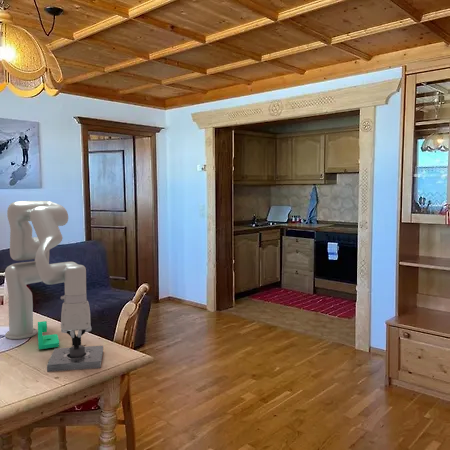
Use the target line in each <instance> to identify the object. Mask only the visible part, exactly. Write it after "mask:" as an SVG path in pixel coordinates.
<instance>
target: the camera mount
mask: <svg viewBox="0 0 450 450" xmlns="http://www.w3.org/2000/svg"><path fill="white" fill-rule="evenodd" d="M47 332H48V323H47V320H46V321H45V320H43V321H37V341H38V342H37V345H38V350H44V349H51V348H52V349H53V348H60V340H59V336H58V333H55V334H45V335H44V334H43V333H47Z"/></svg>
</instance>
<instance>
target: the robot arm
mask: <svg viewBox="0 0 450 450" xmlns="http://www.w3.org/2000/svg"><path fill="white" fill-rule="evenodd" d="M6 213H7V215H6V216H7V221H8V225H9V228H10V232H9V255H10V258H11V259H12V260H13V261H19V262H16V263H12V264H10V265H8V266H6V268H5V271H4V277H5V281H6V282H5V283H6V286H7V300H8V303H7V304H8V331H7V332H5V335H4V336H5V338H6V339H9V340H23V339H28V338H31V337H34V336H36V335H38V329H36V328H34V311H33V310H34V309H33V308H34V303H33V292H32V291H31V289H30V288H29V287H28V286H27V285H30V284H36V283H40V282H41V283H43V284H45V285H49V286H50V285H57V284H62V283H64V295H61V296H60V300H62V301H63V303H62V304H61V305H62V306H61V316H60V328H61V330H60V333H62V334H67V335H68V336H69V337H70V338H71V345H72V346H74V349H75V348H79V345H82V337H83V335H84V334H85V333H88V332H91V331H92V326H91V323H92V321H91V318H92V317H91V310H90V309H91V308H90V303H89V301H88V300H87V270H86V269H87V267H85V265H83V264H78V263H77V262H74V261H64V262H62V261H61V262H55V263H50V250H51V249H53V248H55V247H57V246H58V245H60V244H61V243H62V242H63V239H64V237H63V234H62V232H61V230H60V228H59V227H62V226H65V225H67V224H68V221H69V214H68V211H67V209H66V208H65V207H64V206H63V205H61V204H59V203H56V202H54V201H50V200H19V201H14V202H11V203H10V204H9V205H8V207H7V210H6ZM30 222H31V223H30ZM33 229H34V231H35V234H36V236H34V237H33ZM31 260H32V261H31ZM20 261H22V262H20ZM24 261H25V262H24ZM76 331H78V333H77V334H76ZM72 346H71V347H72Z"/></svg>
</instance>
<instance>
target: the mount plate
mask: <svg viewBox="0 0 450 450" xmlns="http://www.w3.org/2000/svg"><path fill="white" fill-rule="evenodd" d="M69 348H70V347H54V349H53V351H52V353H51V355H50V358H49V359H48V362H47V363H46V372H47V373H48V372H62V371H75V370H89V369H90V370H92V369H101V367H102V361H103V356H104V345H91V346H89V345H88V346H85V356H83V357H80V358H70V349H69Z"/></svg>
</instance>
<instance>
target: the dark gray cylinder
mask: <svg viewBox="0 0 450 450" xmlns="http://www.w3.org/2000/svg"><path fill="white" fill-rule="evenodd" d="M85 347H86V346H85V345H83V344H81V345H79V348H75V349H74V346H69V347H68V348H69V349H70V358H80V357H83V356H85Z"/></svg>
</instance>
